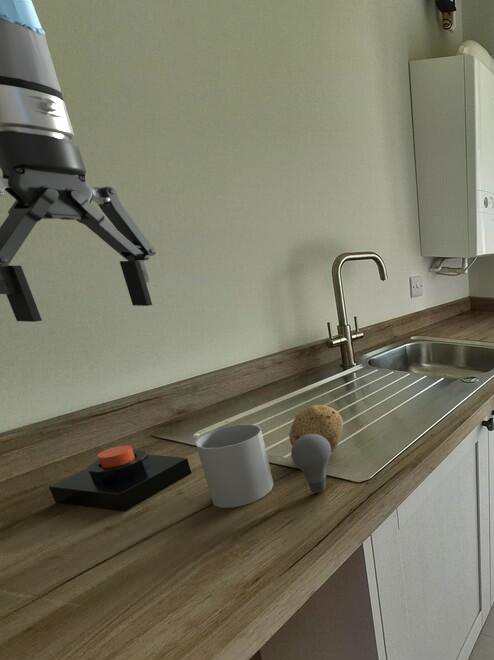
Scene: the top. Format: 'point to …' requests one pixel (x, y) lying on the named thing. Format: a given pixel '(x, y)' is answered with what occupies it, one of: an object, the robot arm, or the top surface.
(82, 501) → the black button base
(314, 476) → the light bulb
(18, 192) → the robot arm
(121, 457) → the button
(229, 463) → the cup
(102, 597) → the top surface
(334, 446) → the natural sponge
